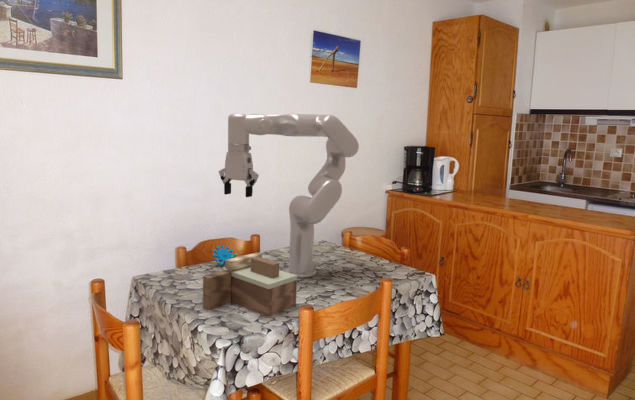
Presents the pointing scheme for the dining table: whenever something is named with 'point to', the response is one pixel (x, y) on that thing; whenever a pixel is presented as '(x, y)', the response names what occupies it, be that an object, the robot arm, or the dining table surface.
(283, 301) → the brown wooden box
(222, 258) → the blue spiky virus toy
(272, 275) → the lid
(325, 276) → the dining table surface
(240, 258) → the bar
